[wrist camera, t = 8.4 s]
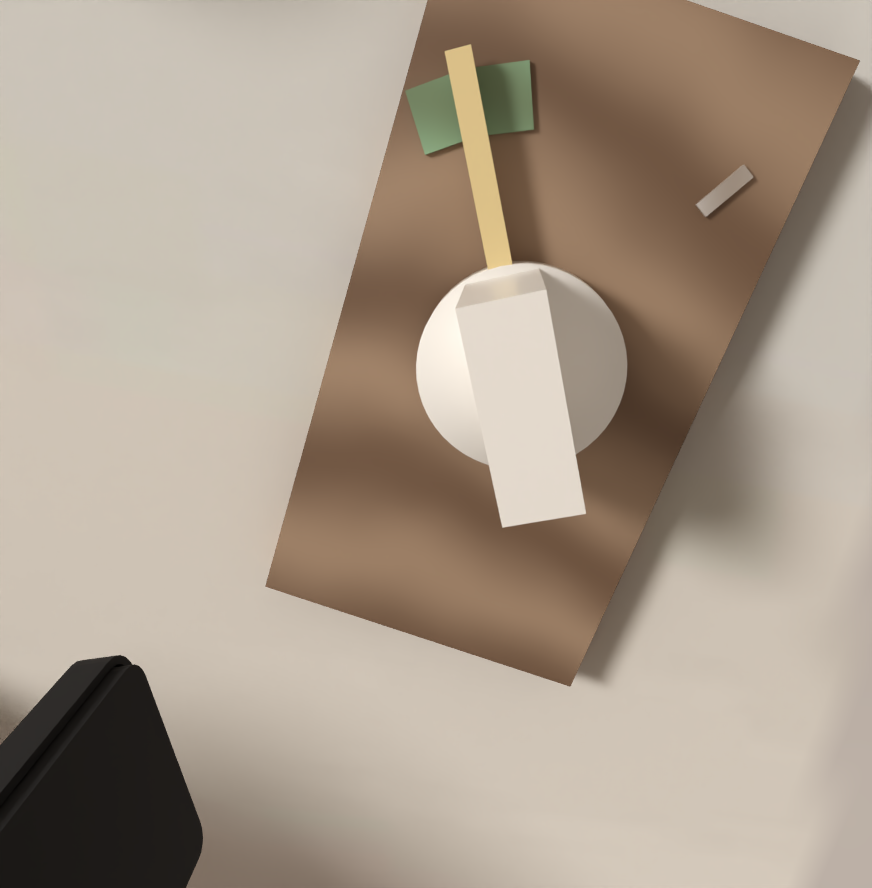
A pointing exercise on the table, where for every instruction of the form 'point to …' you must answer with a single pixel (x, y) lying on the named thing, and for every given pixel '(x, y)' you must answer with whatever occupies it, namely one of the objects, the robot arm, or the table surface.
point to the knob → (517, 352)
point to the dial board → (570, 248)
